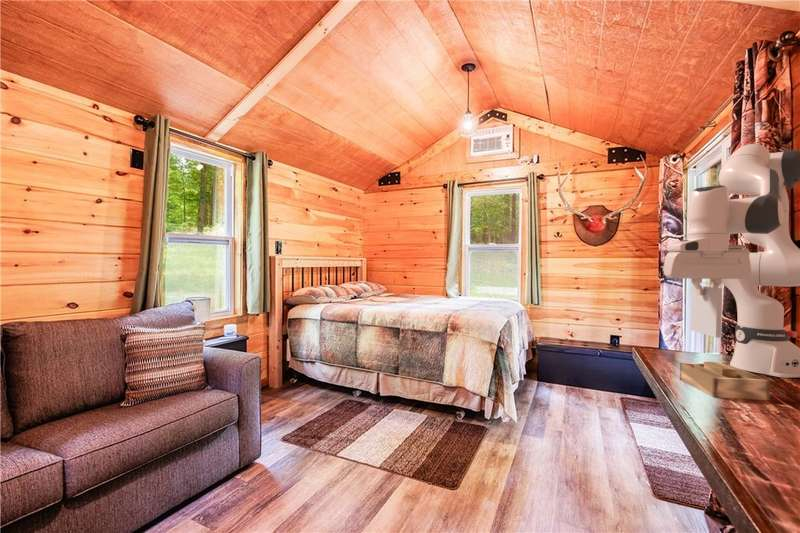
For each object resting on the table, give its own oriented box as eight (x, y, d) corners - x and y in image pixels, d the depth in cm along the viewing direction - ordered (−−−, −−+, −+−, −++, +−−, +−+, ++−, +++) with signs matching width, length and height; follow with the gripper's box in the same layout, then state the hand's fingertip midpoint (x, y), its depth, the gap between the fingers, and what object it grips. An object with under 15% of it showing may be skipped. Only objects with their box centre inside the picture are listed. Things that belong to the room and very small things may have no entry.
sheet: (695, 330, 107) (696, 285, 107) (720, 337, 97) (722, 288, 97) (690, 330, 107) (691, 285, 107) (715, 337, 97) (717, 288, 97)
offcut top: (717, 370, 105) (717, 362, 105) (736, 378, 98) (737, 369, 98) (703, 370, 106) (703, 361, 106) (722, 378, 99) (722, 369, 99)
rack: (727, 384, 108) (728, 364, 108) (769, 403, 94) (770, 380, 94) (679, 382, 110) (680, 362, 110) (713, 401, 96) (714, 378, 96)
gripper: (739, 245, 103) (738, 294, 104) (661, 245, 106) (659, 293, 106) (758, 244, 97) (757, 297, 98) (674, 244, 100) (673, 295, 100)
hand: (705, 295), depth 102 cm, fingers closed on sheet, 1 cm apart
